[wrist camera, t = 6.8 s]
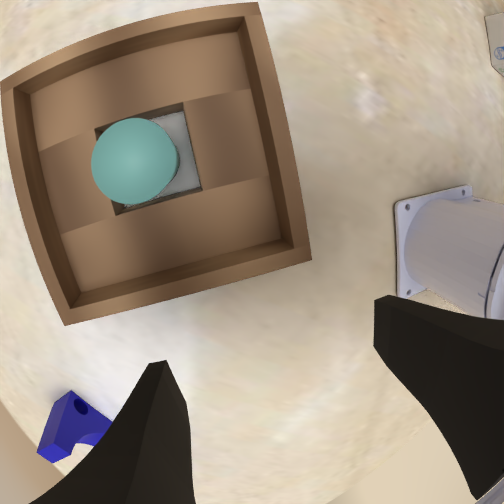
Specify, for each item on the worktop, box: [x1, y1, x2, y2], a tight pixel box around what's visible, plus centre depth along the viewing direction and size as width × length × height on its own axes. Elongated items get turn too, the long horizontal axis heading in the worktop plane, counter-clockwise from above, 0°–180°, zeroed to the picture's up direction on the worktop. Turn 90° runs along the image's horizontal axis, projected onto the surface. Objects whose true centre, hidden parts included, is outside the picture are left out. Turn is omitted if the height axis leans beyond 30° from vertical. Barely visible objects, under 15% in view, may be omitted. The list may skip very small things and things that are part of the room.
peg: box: [91, 118, 180, 204], centre depth 13 cm, size 3×3×7 cm
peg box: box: [0, 2, 312, 326], centre depth 14 cm, size 13×13×4 cm
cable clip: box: [37, 390, 112, 463], centre depth 18 cm, size 12×4×6 cm, turn 35°
